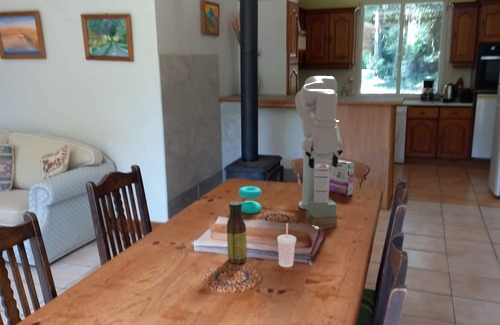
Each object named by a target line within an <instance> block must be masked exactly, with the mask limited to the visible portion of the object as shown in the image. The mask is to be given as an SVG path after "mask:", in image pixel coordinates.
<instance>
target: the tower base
mask: <svg viewBox="0 0 500 325" xmlns="http://www.w3.org/2000/svg"><path fill="white" fill-rule="evenodd" d="M305 223H306V224H308V225H309V224H311V225H314V226H318V227H319V228H321V229H320V230H325V229H330V228H335V227H337V225H338V214H336V216H334V217H313V216H312V215H311V214H310V212H309V211H308V210H305ZM311 225H310V226H311Z"/></svg>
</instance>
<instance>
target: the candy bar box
mask: <svg viewBox="0 0 500 325" xmlns="http://www.w3.org/2000/svg"><path fill="white" fill-rule="evenodd" d="M355 163H356V162H354V161H348V160H344V159H340V158H339V159H338V164H337V167H334V166H332V159H330V170H329V193H335V194H338V195H342V196H346V197H349V196H352V195H354V181H355V180H354V177H355V165H356V164H355Z"/></svg>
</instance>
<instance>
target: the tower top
mask: <svg viewBox="0 0 500 325" xmlns="http://www.w3.org/2000/svg"><path fill="white" fill-rule="evenodd" d="M306 211H309V212H310V214H311V215H312V216H313V217H334V216H336V215H337V203H336V202H335V201H334V200H333V199H331V197H329V198H328V203H314V198H308V206H307V210H306Z"/></svg>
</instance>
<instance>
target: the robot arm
mask: <svg viewBox="0 0 500 325" xmlns="http://www.w3.org/2000/svg"><path fill="white" fill-rule="evenodd" d="M337 91H338V83H337V79H336V78H335V77H334V76H331V75H330V76H327V75H314V76H312V75H311V76H310V77H308V78H306V79H305V81H304V84H303V86H302V87H301V89H300V90H298V92H297V93H295V94H296V95H295V98H294V99H295V100H294V101H295V102H294V104H295V107H296V112H297V114H298V116H299V118H300V120H301V124H302V125H301V126H302V132H303V136H304V140H303V142H302V144H301V147H302V149H301V150H302V157H303V158H302V159H303V166H302V168H303V172H302V174H303V175H302V198H301V201H299V202H298V207H299V208H300V209H302V210H305V211H308V210H307V206H308V198H314V167H315V164H323V163H322V162H321V160H332V166H334V167H337V164H338V159H339V160H340V158H341V157H342V156H343V153H344V152H343V151H344V150H345V148H346V145H344V144H343V141H342V137H341V132H340V127H339V120H337V119H336V117H337V105H338V99H339V98H338V94H337Z"/></svg>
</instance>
